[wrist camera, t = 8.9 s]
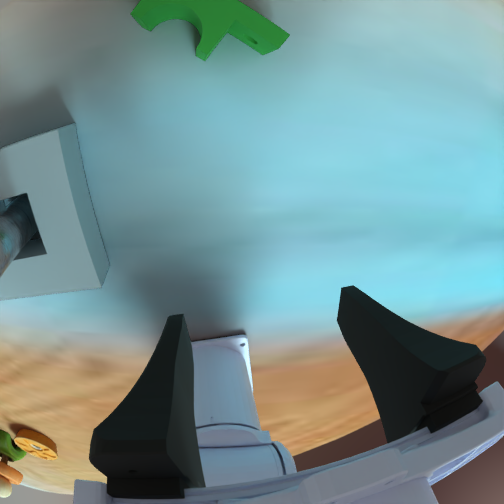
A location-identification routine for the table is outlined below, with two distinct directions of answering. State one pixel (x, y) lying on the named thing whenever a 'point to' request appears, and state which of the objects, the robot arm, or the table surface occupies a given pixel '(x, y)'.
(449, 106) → the table surface
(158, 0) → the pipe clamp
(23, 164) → the socket board
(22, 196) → the pin
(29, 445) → the colorful stacking toy
